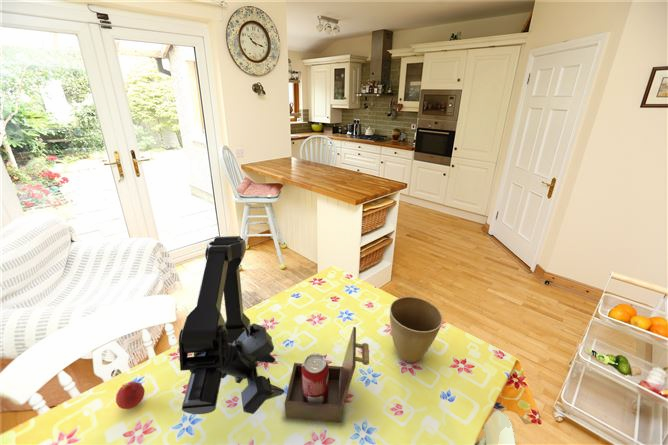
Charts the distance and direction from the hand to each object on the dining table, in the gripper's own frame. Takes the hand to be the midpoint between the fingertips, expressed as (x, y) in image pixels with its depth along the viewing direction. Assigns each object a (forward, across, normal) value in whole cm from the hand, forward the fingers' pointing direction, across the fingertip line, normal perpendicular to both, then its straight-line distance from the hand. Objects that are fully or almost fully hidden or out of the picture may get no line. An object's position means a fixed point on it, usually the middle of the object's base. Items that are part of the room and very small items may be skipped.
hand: (278, 375), depth 70 cm
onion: (-16, +14, +33) cm, 39 cm away
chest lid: (+10, -5, -12) cm, 17 cm away
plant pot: (+37, +2, -21) cm, 42 cm away
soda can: (+14, -1, +1) cm, 14 cm away
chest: (+14, -1, +2) cm, 15 cm away
